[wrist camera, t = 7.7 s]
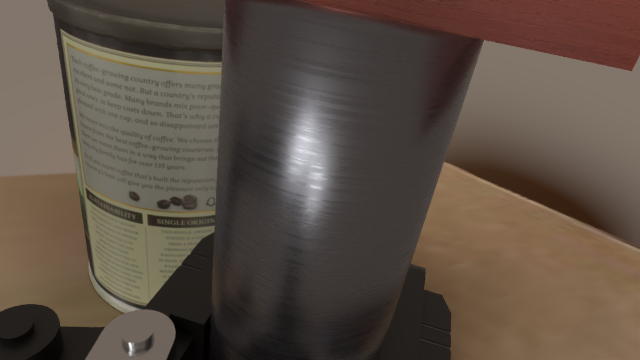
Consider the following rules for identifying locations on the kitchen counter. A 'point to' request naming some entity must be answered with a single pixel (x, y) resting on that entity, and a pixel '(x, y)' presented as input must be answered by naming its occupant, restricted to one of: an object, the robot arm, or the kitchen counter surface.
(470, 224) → the kitchen counter surface
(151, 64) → the coffee can
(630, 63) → the crank
